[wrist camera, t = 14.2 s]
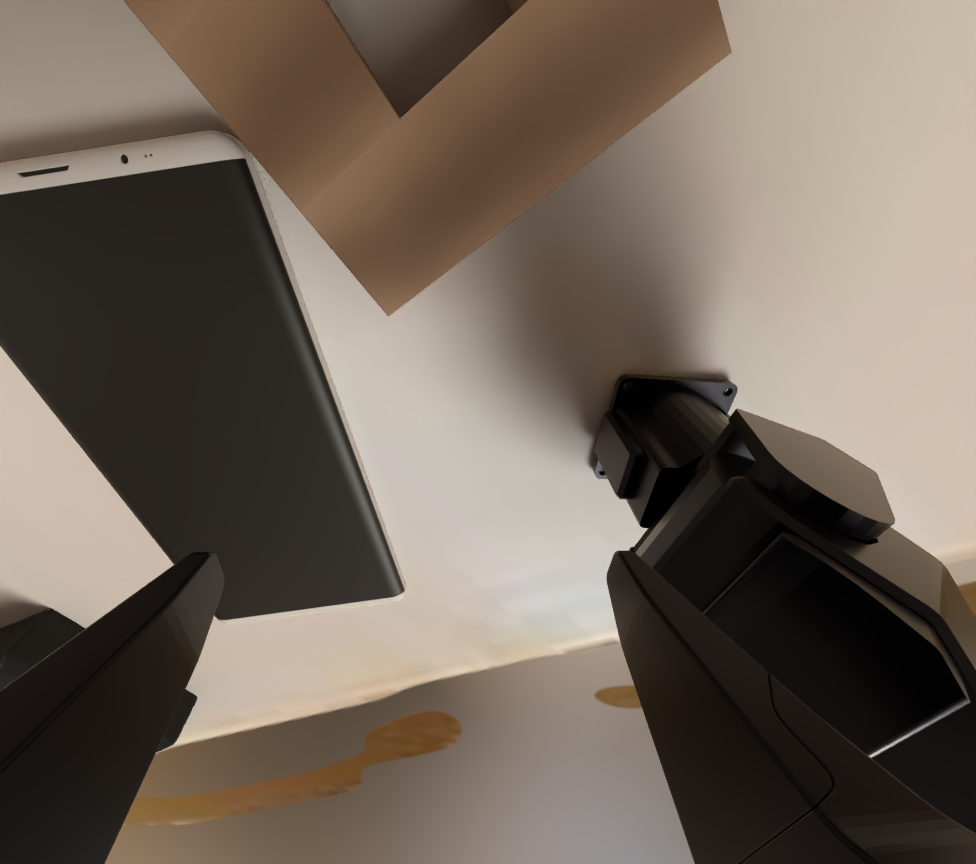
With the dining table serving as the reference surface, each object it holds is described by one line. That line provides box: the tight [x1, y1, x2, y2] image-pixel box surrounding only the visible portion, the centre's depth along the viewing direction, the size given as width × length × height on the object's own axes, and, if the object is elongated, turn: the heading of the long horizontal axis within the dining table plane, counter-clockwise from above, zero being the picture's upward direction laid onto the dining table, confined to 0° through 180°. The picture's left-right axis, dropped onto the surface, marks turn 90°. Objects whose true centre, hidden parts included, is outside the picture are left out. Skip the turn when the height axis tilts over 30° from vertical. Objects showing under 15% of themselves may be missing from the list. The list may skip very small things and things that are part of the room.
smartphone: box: [0, 130, 406, 624], centre depth 22 cm, size 13×27×2 cm, turn 7°
